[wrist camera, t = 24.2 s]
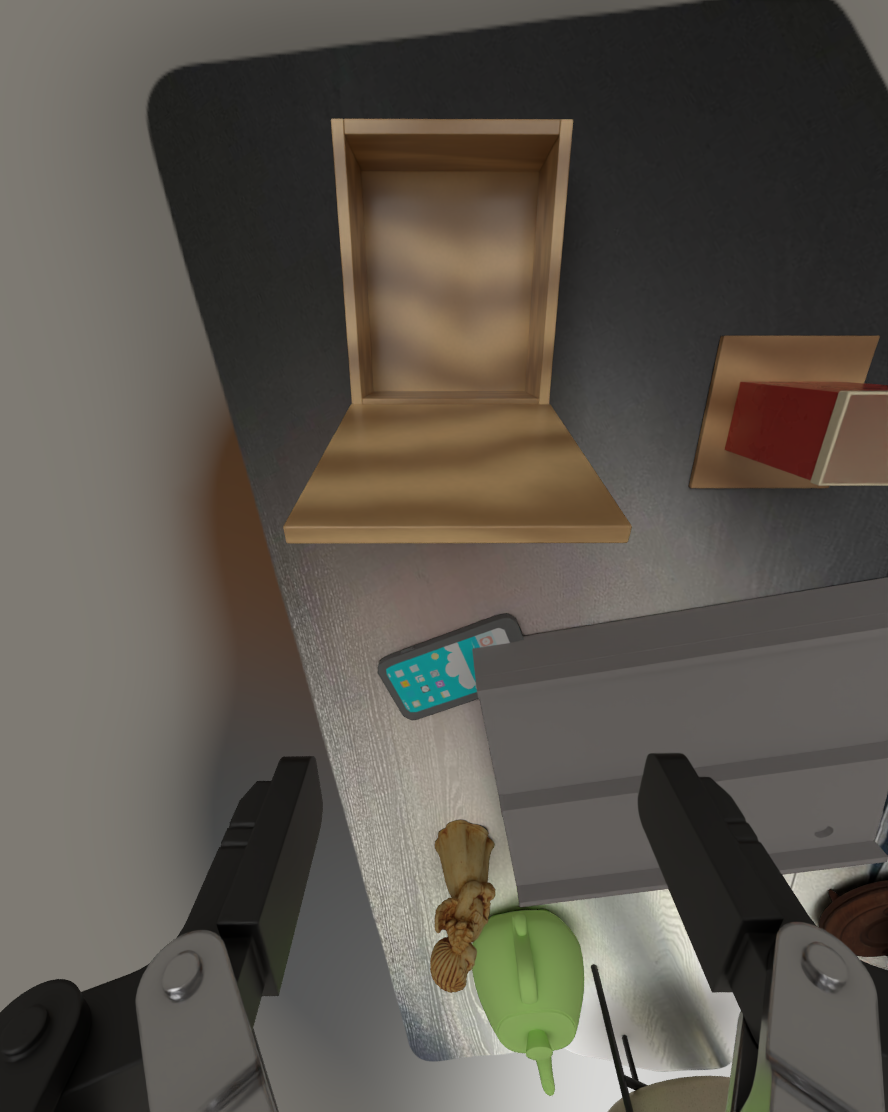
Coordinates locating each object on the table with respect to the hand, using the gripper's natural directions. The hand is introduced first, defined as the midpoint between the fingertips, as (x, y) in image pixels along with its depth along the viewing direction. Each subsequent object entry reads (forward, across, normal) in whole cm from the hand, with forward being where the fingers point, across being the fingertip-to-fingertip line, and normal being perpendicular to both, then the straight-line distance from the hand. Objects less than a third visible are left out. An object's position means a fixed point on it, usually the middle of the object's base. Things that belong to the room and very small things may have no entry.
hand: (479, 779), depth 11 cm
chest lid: (+17, 0, -5) cm, 17 cm away
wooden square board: (+32, -27, -4) cm, 42 cm away
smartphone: (+32, 0, +21) cm, 38 cm away
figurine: (+32, -1, +48) cm, 57 cm away
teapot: (+32, -10, +68) cm, 75 cm away
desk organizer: (+32, -24, +30) cm, 50 cm away
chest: (+32, 0, -13) cm, 35 cm away
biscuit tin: (+31, -27, -4) cm, 42 cm away
